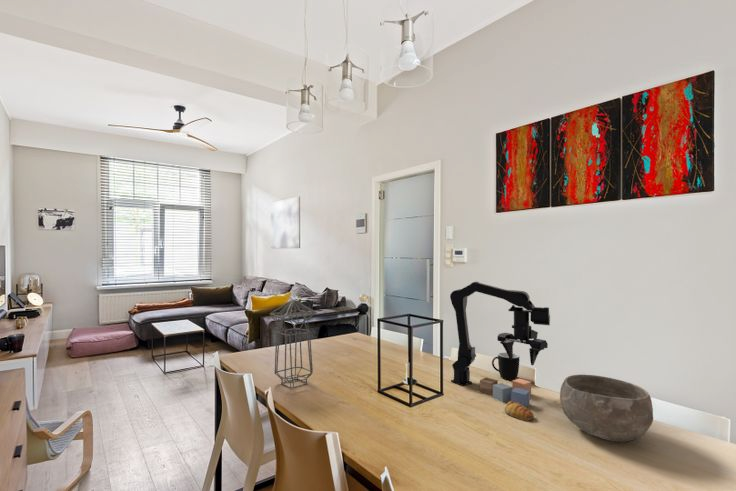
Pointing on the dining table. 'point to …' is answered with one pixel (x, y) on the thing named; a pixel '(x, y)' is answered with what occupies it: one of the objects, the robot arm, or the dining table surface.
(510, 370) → the mug
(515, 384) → the terracotta cube
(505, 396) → the slate cube
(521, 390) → the blue cube
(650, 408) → the bowl
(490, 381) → the walnut cube
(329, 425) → the dining table surface
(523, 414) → the pastry
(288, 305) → the geometric lantern
